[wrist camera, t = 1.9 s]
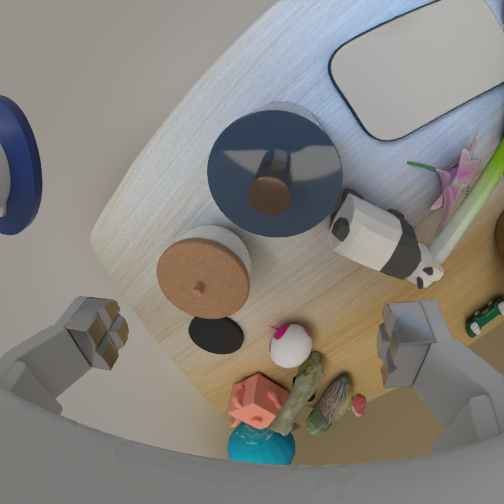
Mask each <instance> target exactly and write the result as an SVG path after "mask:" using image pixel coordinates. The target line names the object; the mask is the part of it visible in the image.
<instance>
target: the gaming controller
mask: <svg viewBox="0 0 504 504" xmlns="http://www.w3.org/2000/svg"><path fill="white" fill-rule="evenodd" d="M492 302H493V301H490V302H489V303H488V305H489V306H488V308H487V309H486V310H484V311H483V312H482V313H481V312H479V311H477V312H476V313H474V315H475V316H474V318H473V319H471V320H470V321H469V322H468V323H467V327H466V329H467V334H468V336H469V337H475V336H476V334H477V335H478V334H480V330H481V327H482V326H484V325H485V324H487V323H488V322H489V321H491V320H492V319H493V318H495V317H496V316H497V315H499V314H500V315H504V298H502V297H501V298H500V299H498V300H497V301H496V302H493V303H492ZM478 312H479V313H478Z"/></svg>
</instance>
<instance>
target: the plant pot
mask: <svg viewBox="0 0 504 504" xmlns="http://www.w3.org/2000/svg"><path fill="white" fill-rule="evenodd" d="M496 240H497V244H498V248H499V251H500V255H501V258H502V262H503V265H504V212H503V213H502V215H501V217H500V219H499V221H498V223H497V227H496Z"/></svg>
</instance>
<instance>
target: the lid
mask: <svg viewBox="0 0 504 504" xmlns="http://www.w3.org/2000/svg"><path fill="white" fill-rule="evenodd" d="M207 176H208V184H209V188H210V191H211V194H212V196H213V199H214V200H215V202H216V204H217V206H218V207H219V208H220V210H221V211H222V212H223V213H224V215H225V216H226V217H227V218H228V219H230V220H231V221H232V222H233V223H234V224H236V225H237V226H239V227H240V228H242V229H244V230H246V231H248V232H251V233H254V234H257V235H261V236H266V237H288V236H293V235H297V234H300V233H303V232H305V231H307V230H309V229H311V228H313V227H314V226H316V225H317V224H319V223H320V222H321V221H322V220H323V219H324V218H325V217H326V216H327V215H328V214H329V213H330V211H331V210H332V209H333V207H334V205H335V203H336V202H337V200H338V197H339V194H340V191H341V186H342V165H341V161H340V157H339V154H338V152H337V149H336V147H335V146H334V144H333V142H332V140H331V139H330V138H329V136H328V135H327V134H326V133H325V131H324V130H323V129H322V128H321V127H319V126H318V125H317V124H316V123H314V122H313V121H311V120H310V119H308V118H306V117H305V116H302V115H300V114H297V113H294V112H291V111H287V110H279V109H267V110H260V111H256V112H253V113H249V114H247V115H245V116H243V117H241V118H239V119H237V120H236V121H234V122H233V123H232V124H230V125H229V126H228V127H227V128H226V129H225V130H224V131H223V132H222V133H221V134H220V136H219V137H218V138H217V140H216V141H215V143H214V145H213V147H212V150H211V153H210V156H209V160H208V167H207Z"/></svg>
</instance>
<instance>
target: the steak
mask: <svg viewBox="0 0 504 504" xmlns="http://www.w3.org/2000/svg"><path fill="white" fill-rule="evenodd" d="M364 408H365V398H364V396H362V395H360V394H358V395H355V396H354V397H353V398H352V409H353V412H354V413H355V414H356V416H359V417H363V416H364Z"/></svg>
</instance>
